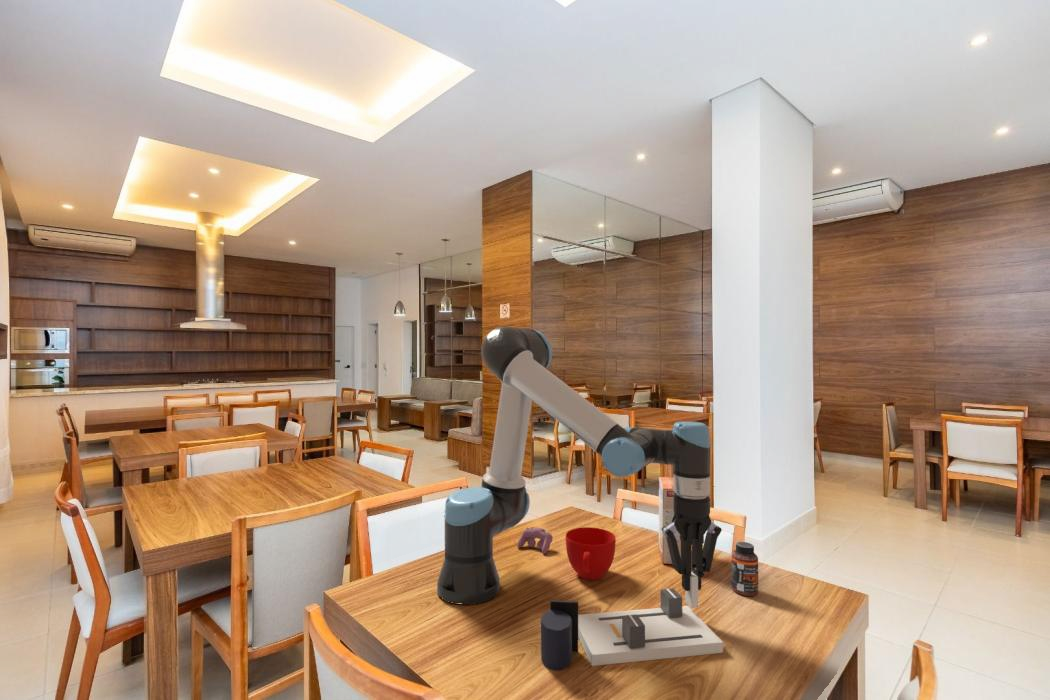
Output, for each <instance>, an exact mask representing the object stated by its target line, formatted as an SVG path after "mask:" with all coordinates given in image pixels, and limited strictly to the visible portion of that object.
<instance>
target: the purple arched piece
mask: <svg viewBox="0 0 1050 700" xmlns="http://www.w3.org/2000/svg"><path fill="white" fill-rule="evenodd" d="M536 539H538V541H536ZM552 542H553V535H552V534H551V533H550V532H548V531H547V530H546V529H544V528H541V527H535V526H534V527H533V526H532V527H526V528H525V529H524V530H523V532H522V533H521V535H520V537H519V538H518V541H517V548H518V549H519V548H520V549H522V548H523V547H524V546H525V544H526V543H527V546H528V547H530V548H534V547H535V546H536V548H537V549H539V550H541V553H542V555H546V554H547V553H548V551H549V549H550V547H551V543H552ZM521 547H522V548H521Z"/></svg>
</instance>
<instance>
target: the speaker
mask: <svg viewBox="0 0 1050 700" xmlns="http://www.w3.org/2000/svg"><path fill="white" fill-rule="evenodd" d="M549 603H550V605H549V606H550V609H549V610H547V611H543V613H542V616H541V617H540V651H541V652H540V657H541V658H540V659H541V662H542V663H543V664H544V666H545V667H546V668H547V669H551V670H554V671H563V670H564V669H567V668H569V667H570V665H571V663H572V660H573V653H579V637H578V615H579V601H574V600H573V601H572V600H550V602H549Z"/></svg>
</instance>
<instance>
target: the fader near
mask: <svg viewBox="0 0 1050 700" xmlns="http://www.w3.org/2000/svg"><path fill="white" fill-rule="evenodd" d="M622 637H623V638H624V640H625V642H626V643H627V645H628V646H629V648H640V647H645V625H644V623H643V622H642V621H641V619H640V618H639V617H638V615H637V614H636V615H624V616H622Z"/></svg>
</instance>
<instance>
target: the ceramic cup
mask: <svg viewBox="0 0 1050 700" xmlns="http://www.w3.org/2000/svg"><path fill="white" fill-rule="evenodd" d="M616 542H617V541H616V536H615V534H614V533H612V532H611V531H610V530H606V529H604V528H603V529H602V528H599V527H592V526H591V527H588V526H586V527H577V528H573V529H570V530H568V531H567V532H566V533H565V550H566V555H567V557H568V558H567V559H568V561H569V564H570V566H571V567H572V569H573V570H574V571H575V573H576V574H577V575H578V577H580V578H582V579H585V580H589V581H590V580H592V581H595V580H596V581H597V580H599V579H602V578H604V575H605V574H606V573H607V572H608V571H609V569H610V568H611V567H612V564H613V562H614V557H615V552H616Z"/></svg>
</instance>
